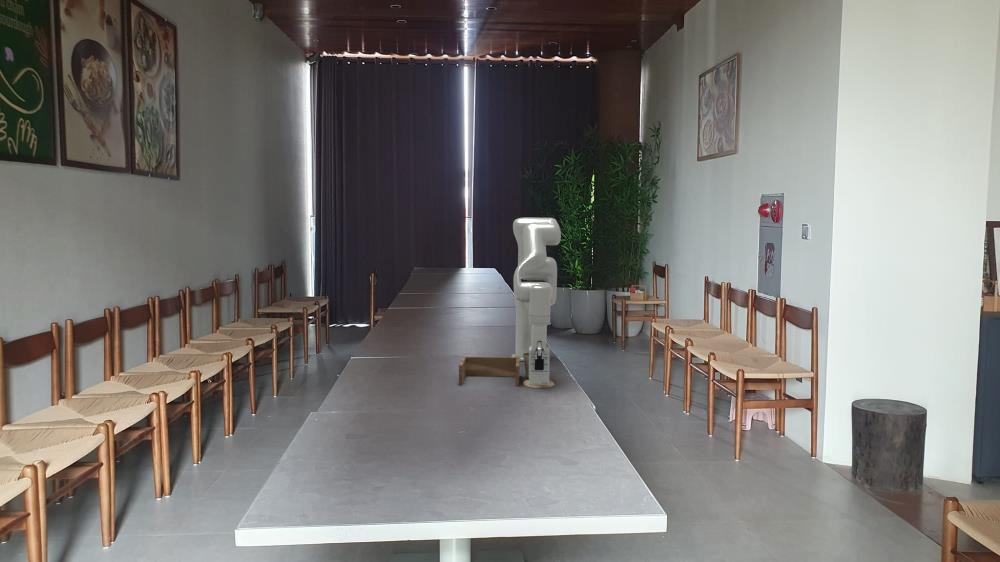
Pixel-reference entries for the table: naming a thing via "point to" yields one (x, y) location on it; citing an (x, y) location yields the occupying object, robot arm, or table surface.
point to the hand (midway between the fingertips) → (539, 367)
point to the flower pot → (526, 362)
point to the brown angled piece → (489, 367)
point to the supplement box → (539, 375)
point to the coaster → (538, 385)
